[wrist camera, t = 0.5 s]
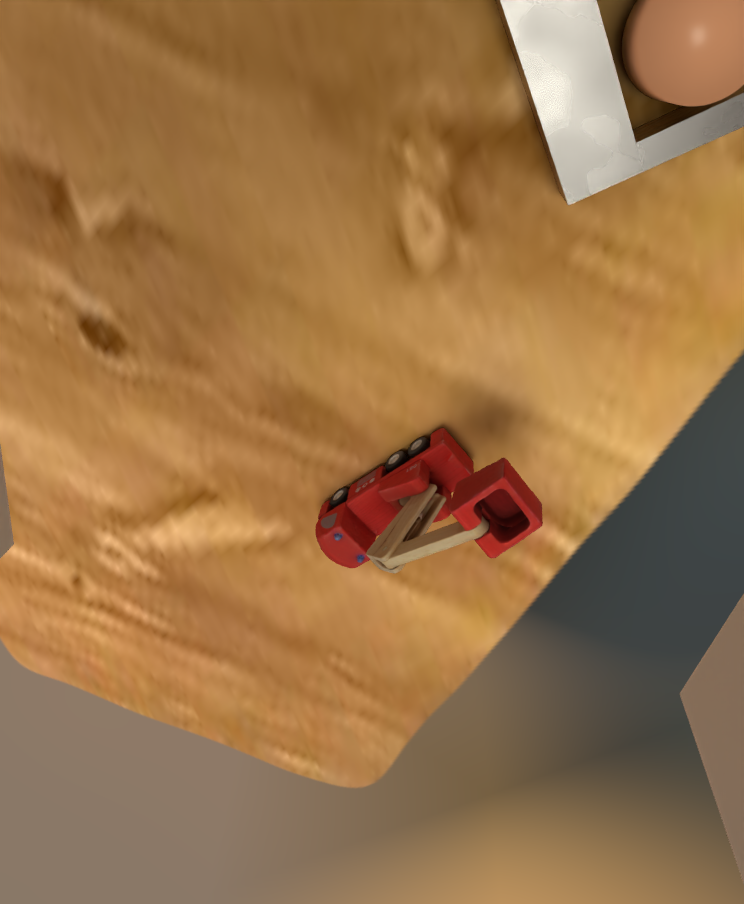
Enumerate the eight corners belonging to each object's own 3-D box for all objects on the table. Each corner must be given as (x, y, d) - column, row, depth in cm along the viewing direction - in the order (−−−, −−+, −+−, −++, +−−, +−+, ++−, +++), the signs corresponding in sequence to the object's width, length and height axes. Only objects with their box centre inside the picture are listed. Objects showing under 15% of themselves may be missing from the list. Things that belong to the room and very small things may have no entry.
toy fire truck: (316, 502, 42) (280, 610, 34) (496, 386, 37) (506, 481, 28) (349, 536, 43) (323, 649, 35) (530, 429, 38) (548, 533, 30)
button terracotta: (607, 3, 26) (623, -2, 23) (733, -64, 24) (765, -79, 22) (639, 123, 28) (657, 129, 25) (758, 66, 26) (790, 67, 24)
